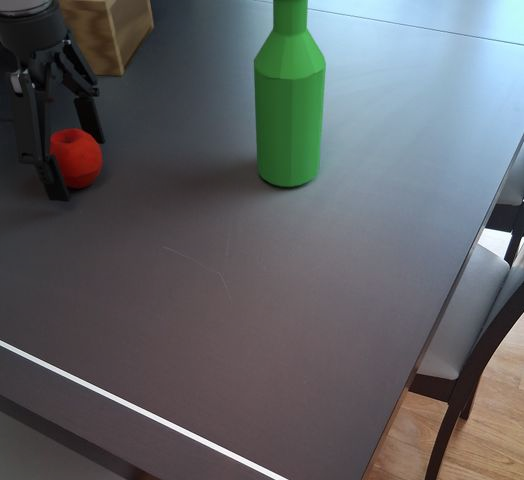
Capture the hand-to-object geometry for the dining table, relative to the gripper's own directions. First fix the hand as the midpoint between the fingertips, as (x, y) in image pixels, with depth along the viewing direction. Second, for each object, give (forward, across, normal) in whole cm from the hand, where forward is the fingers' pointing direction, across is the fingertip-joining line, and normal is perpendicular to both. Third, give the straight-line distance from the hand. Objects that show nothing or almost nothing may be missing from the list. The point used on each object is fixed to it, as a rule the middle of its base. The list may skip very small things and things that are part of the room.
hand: (79, 169), depth 79 cm
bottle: (+2, +6, -29) cm, 29 cm away
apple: (+2, 0, 0) cm, 2 cm away
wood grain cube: (+2, +40, +12) cm, 42 cm away
